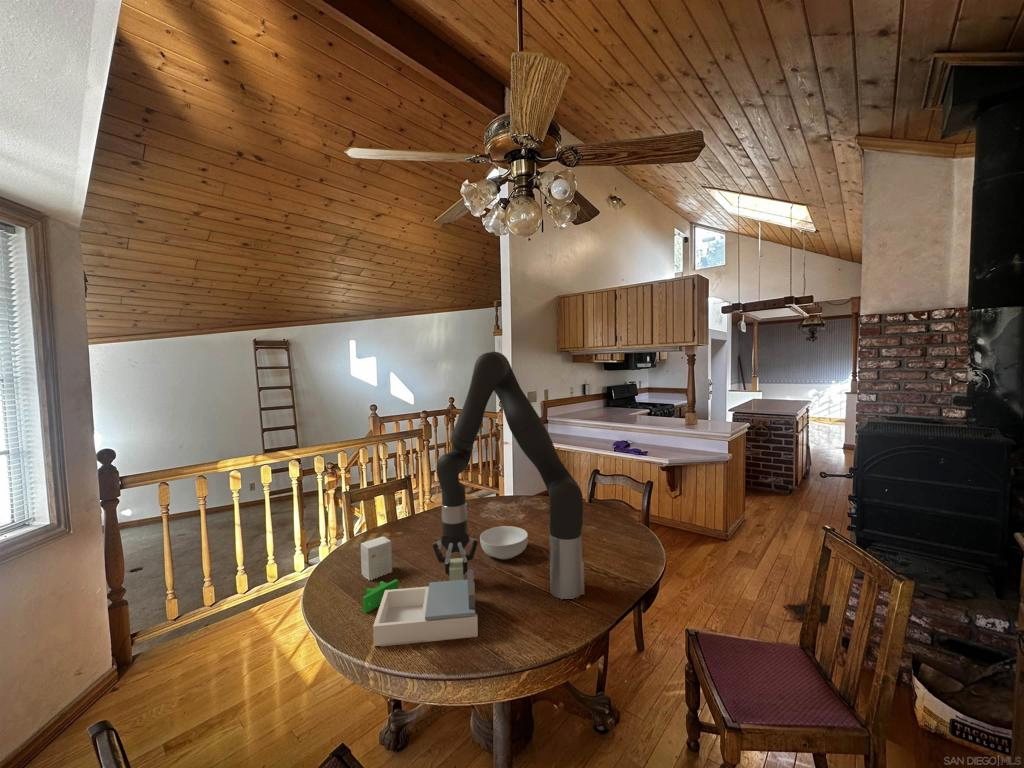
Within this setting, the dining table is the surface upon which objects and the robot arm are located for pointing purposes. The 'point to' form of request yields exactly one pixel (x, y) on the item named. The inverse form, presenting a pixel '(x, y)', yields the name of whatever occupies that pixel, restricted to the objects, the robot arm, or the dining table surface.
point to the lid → (451, 598)
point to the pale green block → (456, 569)
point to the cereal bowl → (504, 541)
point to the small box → (376, 558)
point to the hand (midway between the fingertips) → (456, 573)
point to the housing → (416, 620)
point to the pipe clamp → (377, 595)
